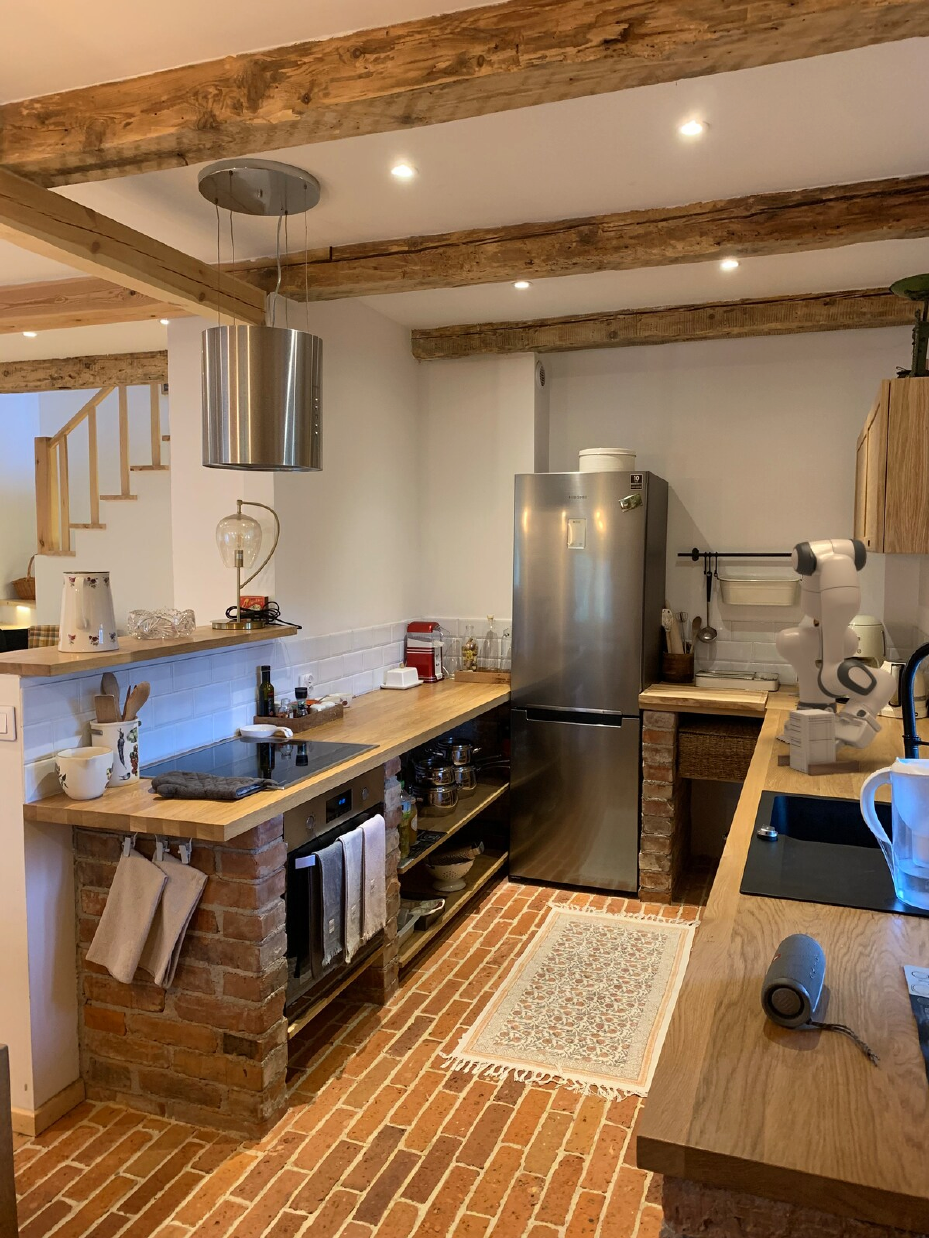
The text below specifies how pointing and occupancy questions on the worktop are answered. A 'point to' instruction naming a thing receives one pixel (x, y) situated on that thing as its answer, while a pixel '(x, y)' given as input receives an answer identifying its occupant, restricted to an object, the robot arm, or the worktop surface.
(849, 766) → the display rails
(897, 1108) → the worktop surface
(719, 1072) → the worktop surface
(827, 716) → the supplement box
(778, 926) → the worktop surface
